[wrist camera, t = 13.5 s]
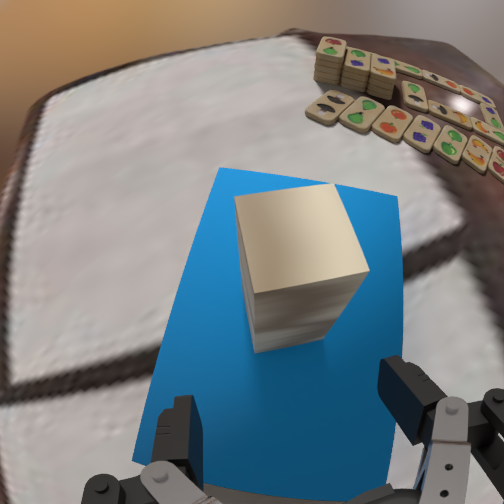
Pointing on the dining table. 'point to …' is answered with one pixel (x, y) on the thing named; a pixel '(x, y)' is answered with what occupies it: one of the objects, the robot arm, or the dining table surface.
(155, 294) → the dining table surface
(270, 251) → the birch block
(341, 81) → the pile of dominoes
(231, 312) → the book
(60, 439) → the dining table surface
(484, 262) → the dining table surface
